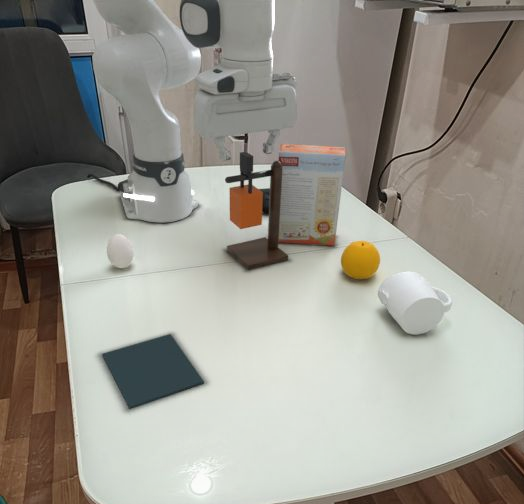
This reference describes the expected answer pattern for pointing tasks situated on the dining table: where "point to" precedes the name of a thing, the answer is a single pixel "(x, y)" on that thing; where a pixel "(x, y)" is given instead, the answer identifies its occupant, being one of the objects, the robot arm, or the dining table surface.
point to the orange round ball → (360, 260)
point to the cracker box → (310, 193)
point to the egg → (120, 251)
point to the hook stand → (263, 248)
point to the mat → (151, 370)
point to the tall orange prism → (246, 198)
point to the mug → (414, 302)
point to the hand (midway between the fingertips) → (247, 156)
